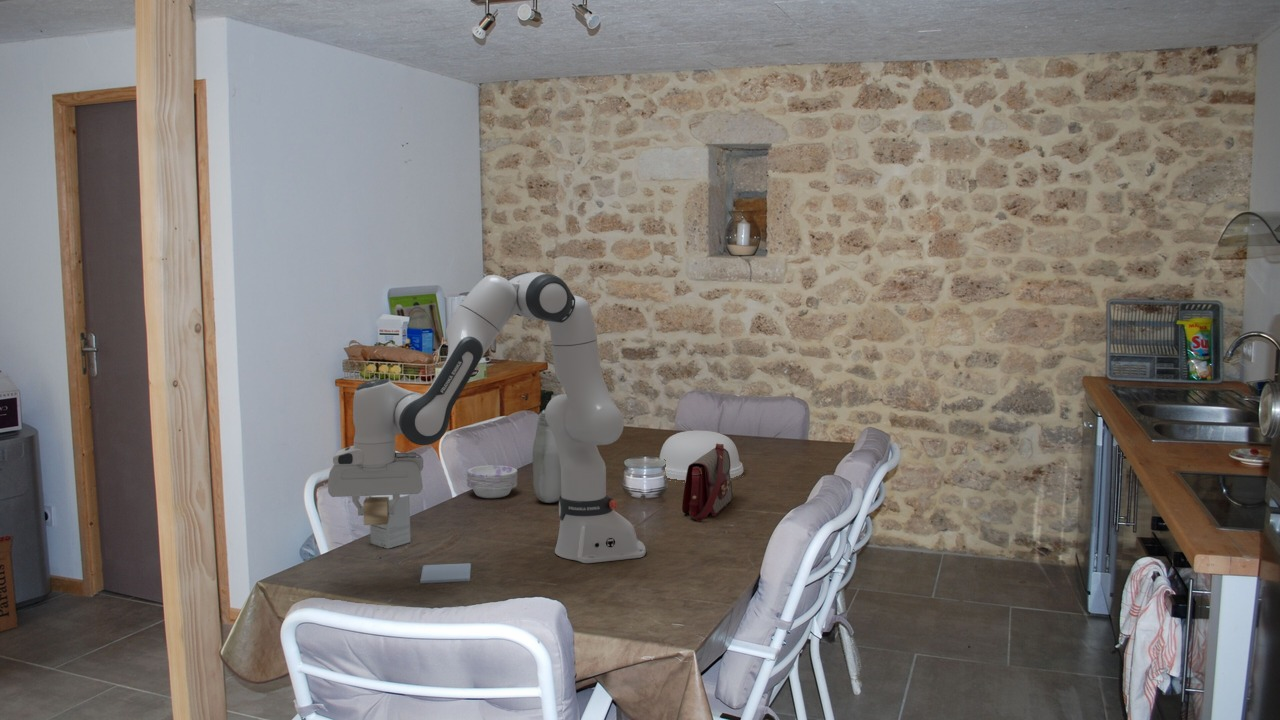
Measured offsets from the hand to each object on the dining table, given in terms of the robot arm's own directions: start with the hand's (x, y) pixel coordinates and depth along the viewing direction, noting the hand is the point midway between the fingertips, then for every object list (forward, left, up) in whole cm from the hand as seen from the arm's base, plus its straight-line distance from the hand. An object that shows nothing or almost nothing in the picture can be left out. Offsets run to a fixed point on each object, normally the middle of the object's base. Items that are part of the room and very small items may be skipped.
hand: (376, 514), depth 219 cm
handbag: (-87, -52, -16) cm, 103 cm away
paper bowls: (-26, -78, -16) cm, 84 cm away
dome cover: (-95, -99, -16) cm, 138 cm away
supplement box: (0, -31, -16) cm, 35 cm away
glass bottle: (-43, -67, -16) cm, 81 cm away
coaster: (-15, -4, -16) cm, 22 cm away
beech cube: (0, 0, -2) cm, 2 cm away
